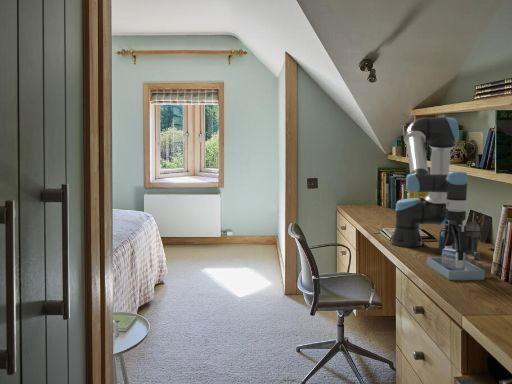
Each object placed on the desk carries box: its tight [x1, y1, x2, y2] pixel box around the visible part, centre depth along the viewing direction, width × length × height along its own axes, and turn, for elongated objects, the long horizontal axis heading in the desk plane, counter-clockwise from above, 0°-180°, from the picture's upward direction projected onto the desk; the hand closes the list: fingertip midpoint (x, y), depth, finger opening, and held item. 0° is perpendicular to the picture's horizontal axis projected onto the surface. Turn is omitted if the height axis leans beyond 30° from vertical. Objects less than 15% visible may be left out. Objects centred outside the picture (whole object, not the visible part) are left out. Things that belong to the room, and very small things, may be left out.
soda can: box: [438, 227, 456, 256], centre depth 232 cm, size 7×7×12 cm
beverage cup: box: [464, 211, 481, 256], centre depth 231 cm, size 7×7×20 cm
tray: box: [426, 256, 485, 281], centre depth 202 cm, size 22×14×4 cm, turn 2°
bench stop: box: [465, 251, 492, 279], centre depth 202 cm, size 18×3×8 cm, turn 2°
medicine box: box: [441, 248, 466, 271], centre depth 202 cm, size 8×4×9 cm, turn 47°
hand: (453, 264), depth 202 cm, fingers open, 10 cm apart
